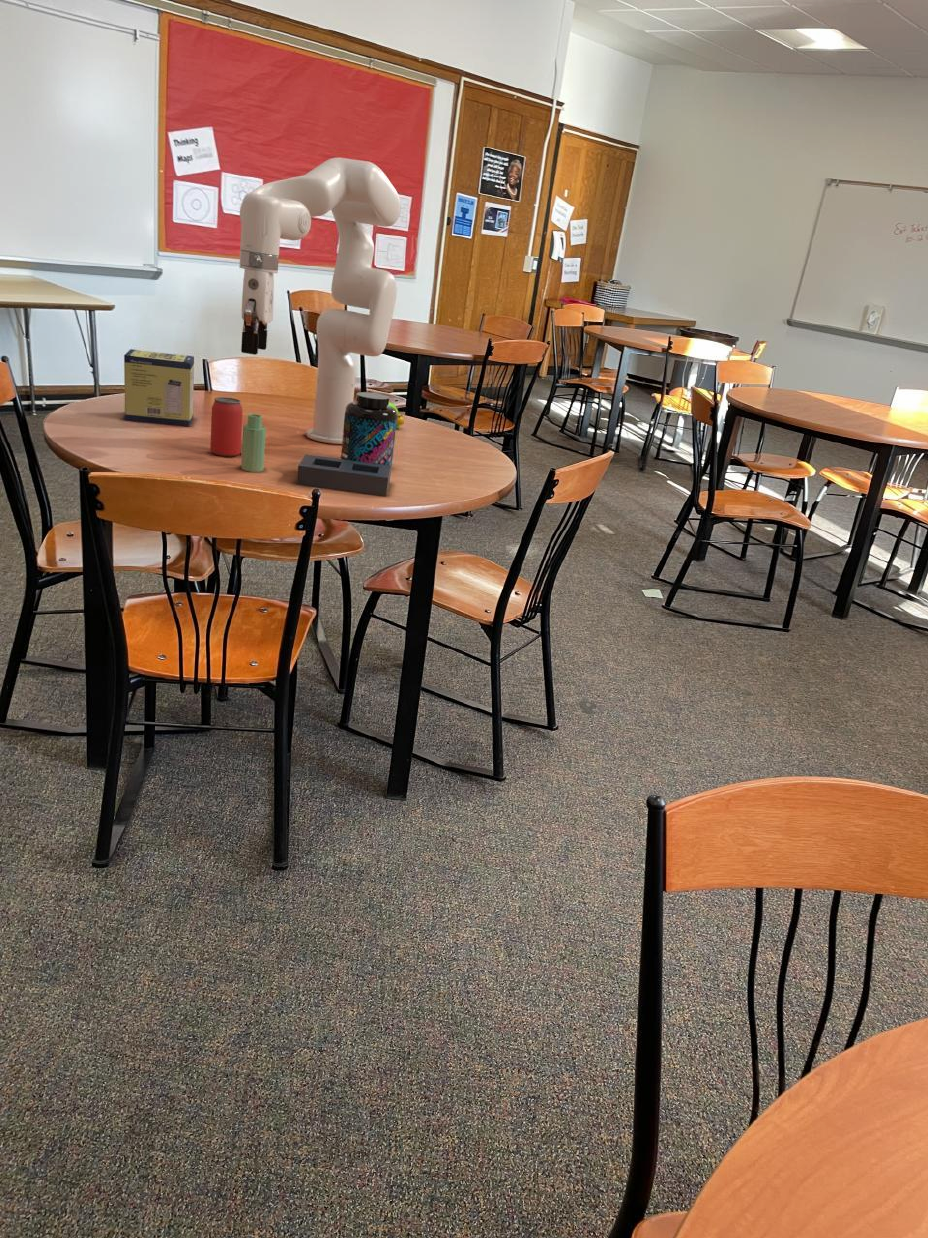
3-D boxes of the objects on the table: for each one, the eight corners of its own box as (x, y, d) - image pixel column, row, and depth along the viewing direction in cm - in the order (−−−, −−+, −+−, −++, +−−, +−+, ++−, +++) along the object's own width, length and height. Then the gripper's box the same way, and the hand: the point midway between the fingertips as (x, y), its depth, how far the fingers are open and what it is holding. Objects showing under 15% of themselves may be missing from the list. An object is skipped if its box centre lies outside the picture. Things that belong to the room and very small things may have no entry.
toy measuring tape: (395, 431, 250) (398, 407, 247) (340, 416, 258) (342, 393, 256) (408, 429, 255) (411, 406, 252) (354, 414, 263) (356, 392, 261)
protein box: (129, 411, 226) (129, 348, 220) (193, 418, 229) (195, 355, 223) (123, 420, 216) (122, 354, 210) (190, 426, 220) (192, 362, 214)
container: (387, 475, 204) (391, 401, 197) (334, 468, 205) (336, 394, 199) (399, 464, 214) (403, 393, 208) (348, 458, 216) (351, 387, 210)
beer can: (210, 456, 197) (212, 401, 193) (210, 448, 203) (211, 395, 198) (241, 458, 199) (243, 404, 195) (239, 451, 205) (242, 398, 200)
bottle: (243, 465, 194) (246, 411, 190) (265, 467, 195) (268, 414, 190) (239, 470, 190) (241, 415, 186) (261, 473, 191) (264, 418, 186)
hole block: (304, 472, 196) (305, 454, 195) (389, 483, 198) (391, 465, 196) (296, 484, 186) (298, 465, 185) (386, 496, 188) (388, 477, 186)
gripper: (270, 266, 171) (264, 358, 177) (284, 265, 187) (279, 349, 193) (230, 260, 170) (226, 352, 177) (248, 259, 186) (243, 344, 193)
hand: (253, 350), depth 185 cm, fingers open, 9 cm apart
